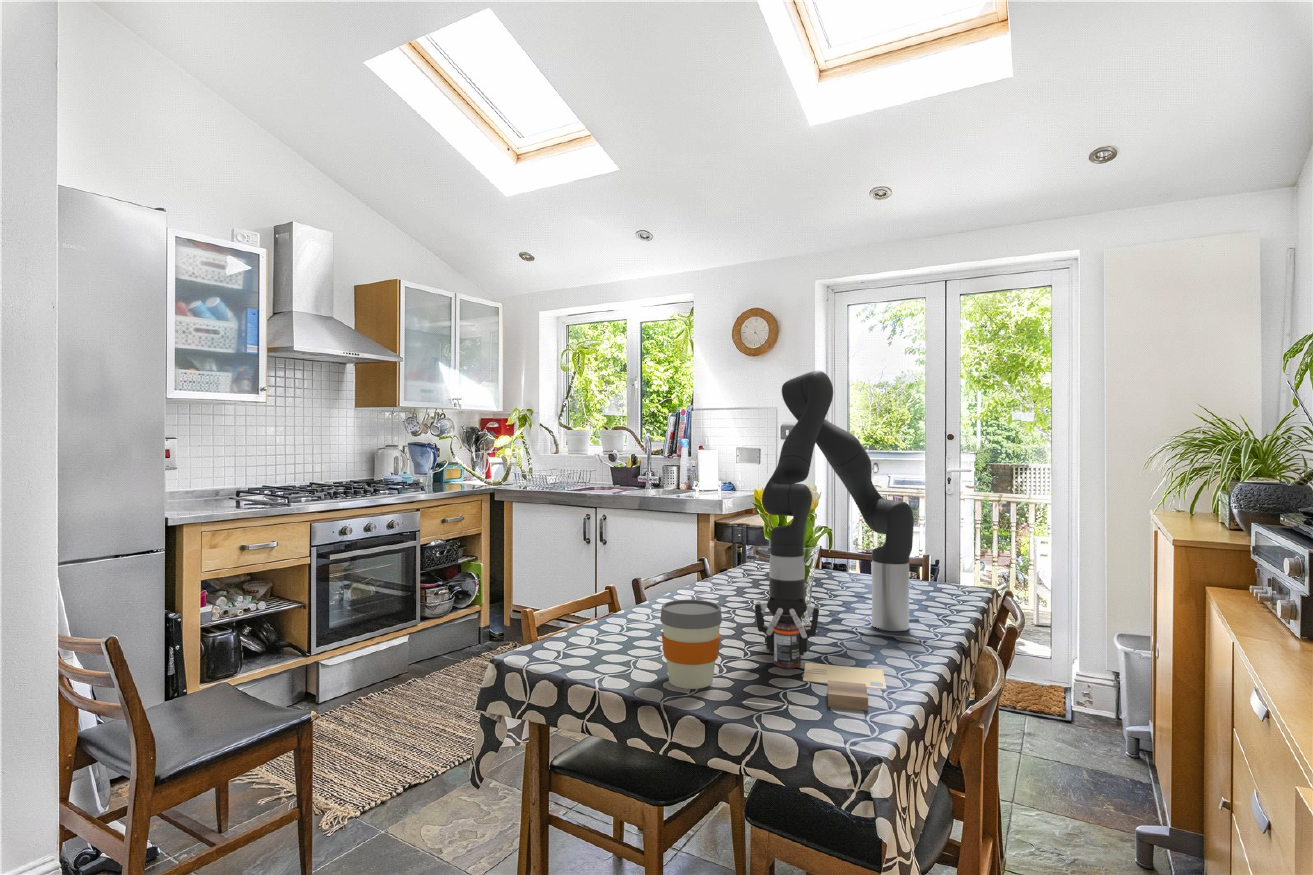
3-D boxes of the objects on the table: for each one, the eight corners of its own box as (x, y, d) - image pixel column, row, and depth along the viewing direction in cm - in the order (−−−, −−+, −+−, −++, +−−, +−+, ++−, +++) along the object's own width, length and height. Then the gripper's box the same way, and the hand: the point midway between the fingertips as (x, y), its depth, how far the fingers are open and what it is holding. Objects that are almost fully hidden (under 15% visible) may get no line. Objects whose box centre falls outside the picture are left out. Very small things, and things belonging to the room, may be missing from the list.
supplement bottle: (781, 658, 147) (781, 607, 147) (805, 664, 143) (805, 612, 143) (767, 665, 142) (767, 613, 142) (792, 671, 138) (792, 618, 138)
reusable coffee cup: (719, 670, 140) (720, 599, 140) (723, 693, 127) (724, 615, 127) (661, 669, 140) (661, 598, 140) (658, 691, 128) (659, 614, 128)
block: (827, 695, 127) (827, 680, 127) (865, 699, 125) (865, 683, 125) (827, 710, 120) (828, 693, 120) (868, 714, 118) (868, 697, 118)
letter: (805, 664, 144) (805, 662, 144) (882, 671, 139) (882, 669, 139) (802, 681, 133) (802, 680, 133) (886, 690, 129) (886, 688, 129)
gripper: (751, 577, 141) (751, 655, 141) (820, 580, 137) (820, 661, 137) (755, 570, 148) (755, 644, 148) (821, 573, 144) (821, 650, 144)
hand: (786, 652), depth 142 cm, fingers closed on supplement bottle, 6 cm apart
